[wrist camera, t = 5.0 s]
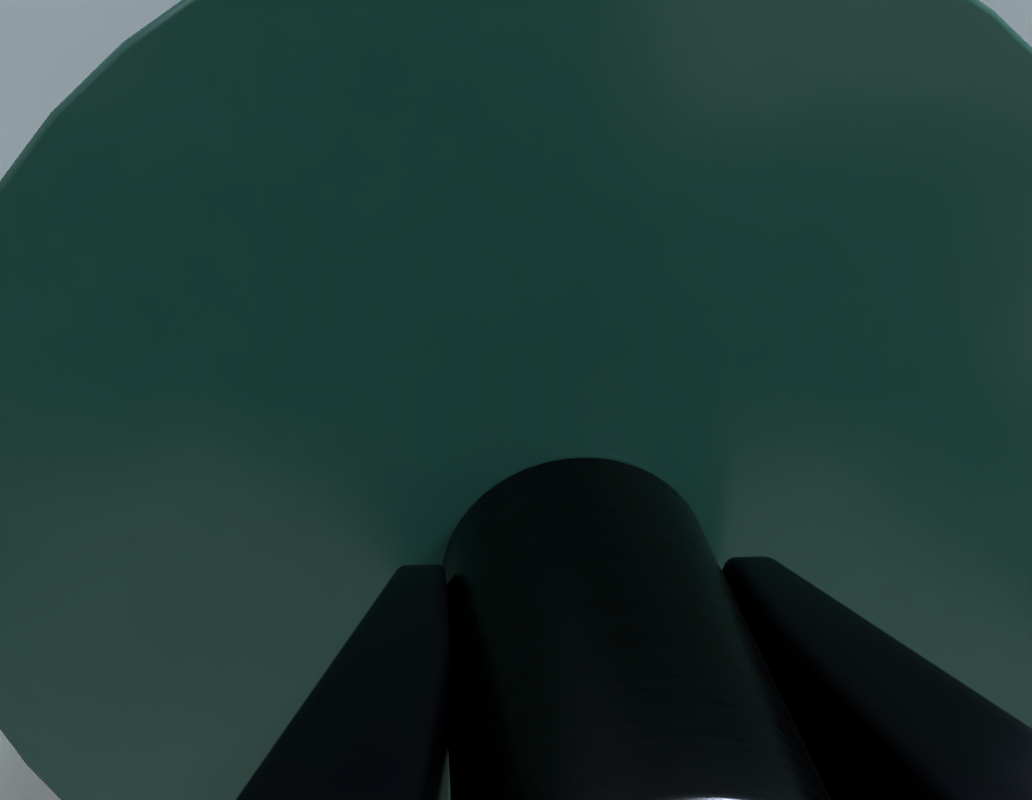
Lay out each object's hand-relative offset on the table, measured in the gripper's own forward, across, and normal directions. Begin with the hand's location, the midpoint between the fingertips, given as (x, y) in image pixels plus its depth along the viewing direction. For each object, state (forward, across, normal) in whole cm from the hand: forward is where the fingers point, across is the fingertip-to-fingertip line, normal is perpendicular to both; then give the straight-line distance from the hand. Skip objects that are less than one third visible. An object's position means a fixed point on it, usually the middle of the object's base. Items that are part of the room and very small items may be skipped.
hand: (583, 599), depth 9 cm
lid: (+1, 0, 0) cm, 1 cm away
